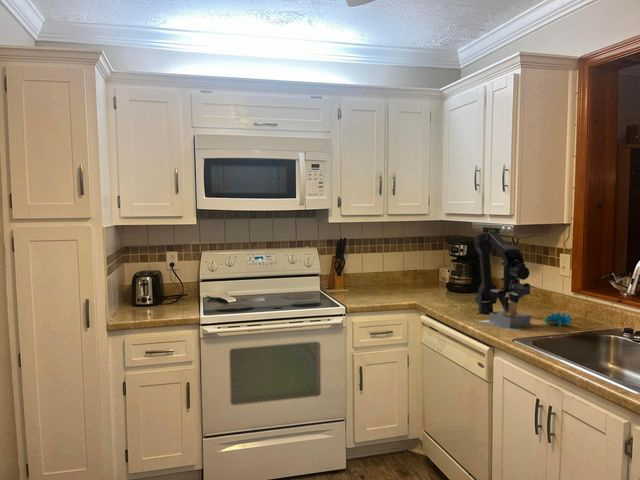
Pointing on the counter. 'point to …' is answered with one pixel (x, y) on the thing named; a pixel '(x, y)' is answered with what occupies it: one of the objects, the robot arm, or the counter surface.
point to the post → (511, 308)
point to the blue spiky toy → (558, 319)
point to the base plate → (505, 328)
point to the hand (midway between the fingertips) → (509, 311)
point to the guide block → (509, 319)
